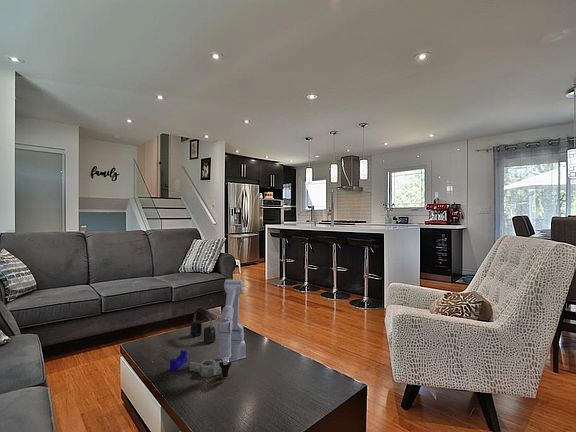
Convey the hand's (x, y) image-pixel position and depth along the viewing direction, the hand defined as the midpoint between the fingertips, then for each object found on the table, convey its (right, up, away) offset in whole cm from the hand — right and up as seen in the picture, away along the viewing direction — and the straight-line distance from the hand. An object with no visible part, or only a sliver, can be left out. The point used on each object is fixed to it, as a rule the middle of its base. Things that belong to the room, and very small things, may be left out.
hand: (225, 372), depth 152 cm
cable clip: (-28, -2, +11) cm, 30 cm away
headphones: (-24, -2, +47) cm, 53 cm away
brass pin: (0, -2, 0) cm, 2 cm away
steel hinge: (-9, -2, +6) cm, 11 cm away
